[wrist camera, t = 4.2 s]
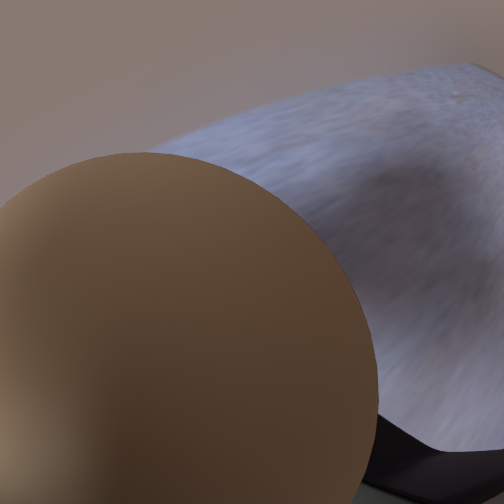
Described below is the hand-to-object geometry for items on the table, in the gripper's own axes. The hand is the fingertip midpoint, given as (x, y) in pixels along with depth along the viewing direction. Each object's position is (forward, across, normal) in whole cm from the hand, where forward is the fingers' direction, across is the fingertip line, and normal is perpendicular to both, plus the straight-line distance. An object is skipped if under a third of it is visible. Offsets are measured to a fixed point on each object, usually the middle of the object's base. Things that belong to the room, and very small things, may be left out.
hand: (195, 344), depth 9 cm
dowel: (+5, 0, +7) cm, 8 cm away
